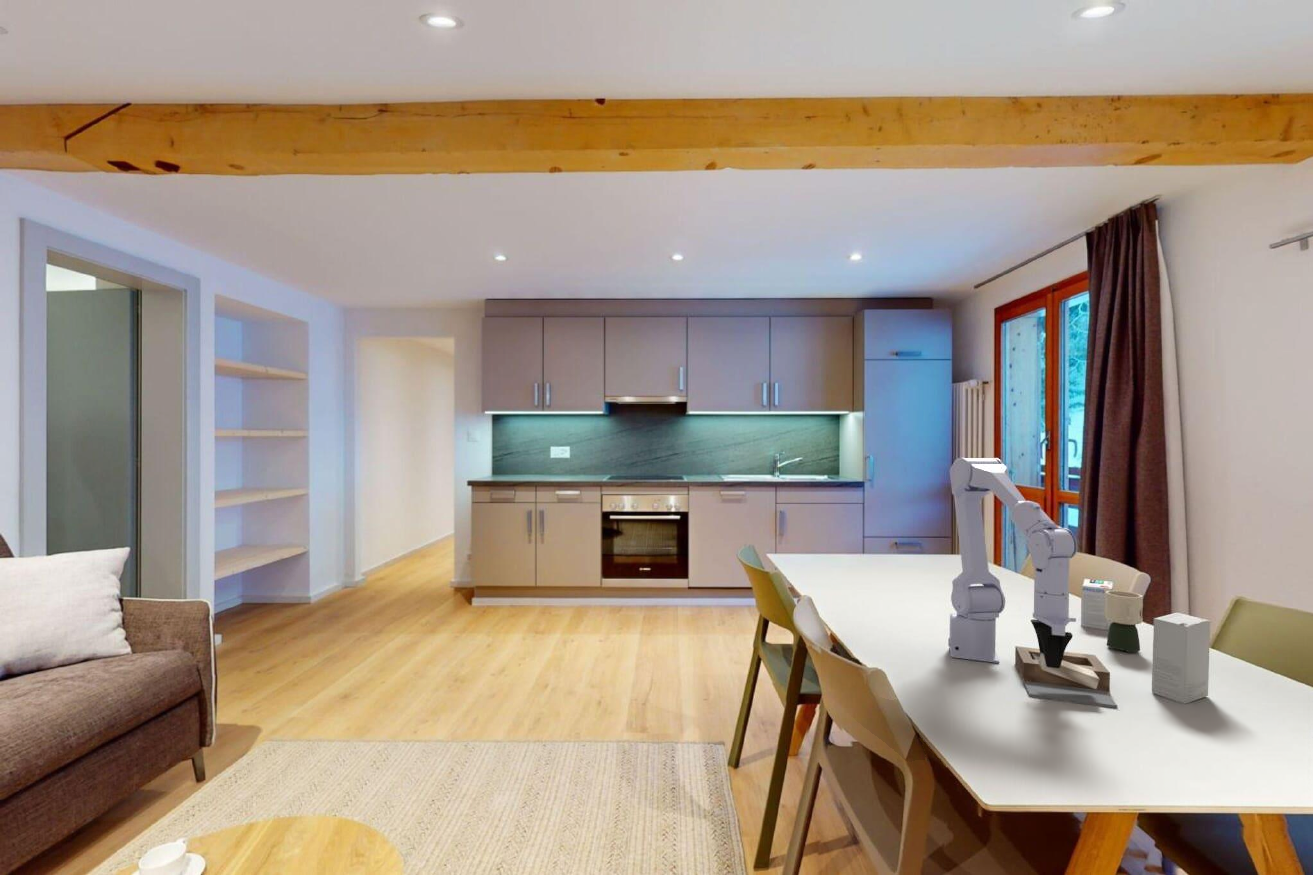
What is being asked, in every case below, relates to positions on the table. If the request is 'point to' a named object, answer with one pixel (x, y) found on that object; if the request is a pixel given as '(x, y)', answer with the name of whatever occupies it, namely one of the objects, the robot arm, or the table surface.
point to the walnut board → (1034, 673)
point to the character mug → (1123, 619)
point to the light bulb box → (1094, 604)
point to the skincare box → (1181, 657)
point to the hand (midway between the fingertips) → (1050, 662)
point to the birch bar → (1072, 672)
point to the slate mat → (1069, 694)
